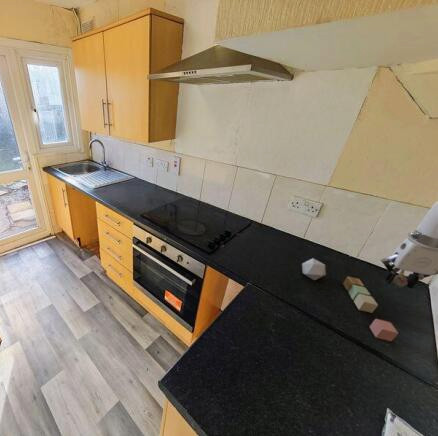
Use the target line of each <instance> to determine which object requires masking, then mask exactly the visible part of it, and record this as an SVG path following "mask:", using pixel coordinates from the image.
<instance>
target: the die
mask: <svg viewBox="0 0 438 436" xmlns="http://www.w3.org/2000/svg"><path fill="white" fill-rule="evenodd" d="M301 269H302V274H303V275H305V276H306V277H308V278H310V279H311V280H313V281H317V280H318V279H320V278H323V277H324V276H326V275H327V273H326V264H324V263H323V262H321V261H320V260H317V259H315V258H313V257H312V258H311V259H308V260H306V261H304V262H303V263H301Z"/></svg>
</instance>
